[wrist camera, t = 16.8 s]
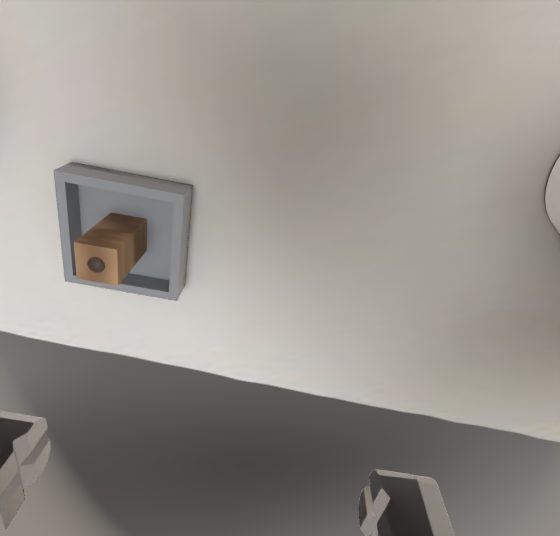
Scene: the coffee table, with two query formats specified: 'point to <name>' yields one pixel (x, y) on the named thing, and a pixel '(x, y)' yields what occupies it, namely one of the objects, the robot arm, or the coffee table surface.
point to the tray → (133, 202)
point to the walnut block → (110, 249)
